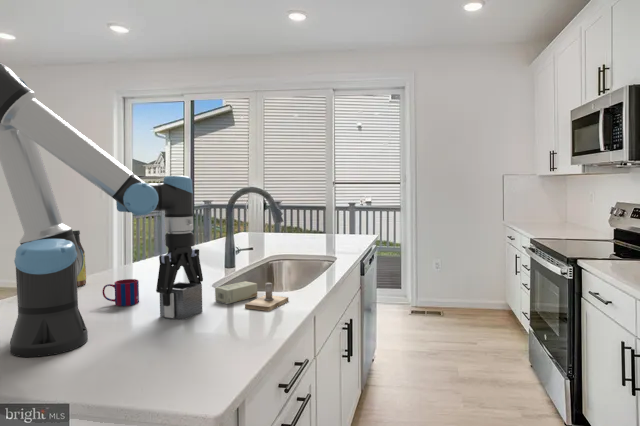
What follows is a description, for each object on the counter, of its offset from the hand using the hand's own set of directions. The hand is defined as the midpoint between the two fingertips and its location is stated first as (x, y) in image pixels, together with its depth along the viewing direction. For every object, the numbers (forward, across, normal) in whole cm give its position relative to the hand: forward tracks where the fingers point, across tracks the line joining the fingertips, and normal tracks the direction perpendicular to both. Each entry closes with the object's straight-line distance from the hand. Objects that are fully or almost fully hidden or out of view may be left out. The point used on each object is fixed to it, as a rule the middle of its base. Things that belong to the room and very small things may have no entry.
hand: (181, 312), depth 128 cm
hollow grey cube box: (0, 0, 0) cm, 0 cm away
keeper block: (+1, +18, -17) cm, 25 cm away
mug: (+1, +2, +24) cm, 25 cm away
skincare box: (-2, +14, -3) cm, 14 cm away
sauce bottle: (+1, +14, +60) cm, 61 cm away
